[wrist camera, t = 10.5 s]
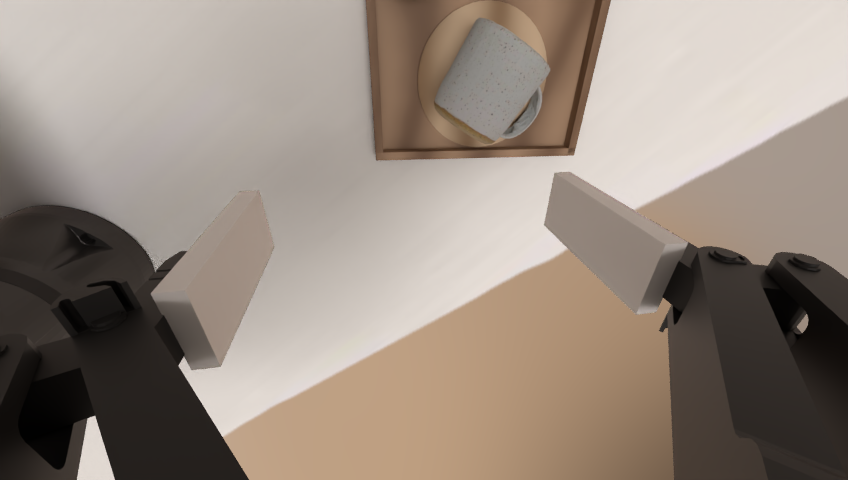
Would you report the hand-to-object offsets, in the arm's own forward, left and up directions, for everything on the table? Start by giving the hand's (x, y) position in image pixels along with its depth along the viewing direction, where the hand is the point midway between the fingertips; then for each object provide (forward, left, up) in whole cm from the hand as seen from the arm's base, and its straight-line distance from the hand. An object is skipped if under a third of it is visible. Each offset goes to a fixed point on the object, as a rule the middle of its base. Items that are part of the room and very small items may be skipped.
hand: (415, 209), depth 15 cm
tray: (+9, +6, -23) cm, 25 cm away
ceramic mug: (+10, +3, -22) cm, 24 cm away
